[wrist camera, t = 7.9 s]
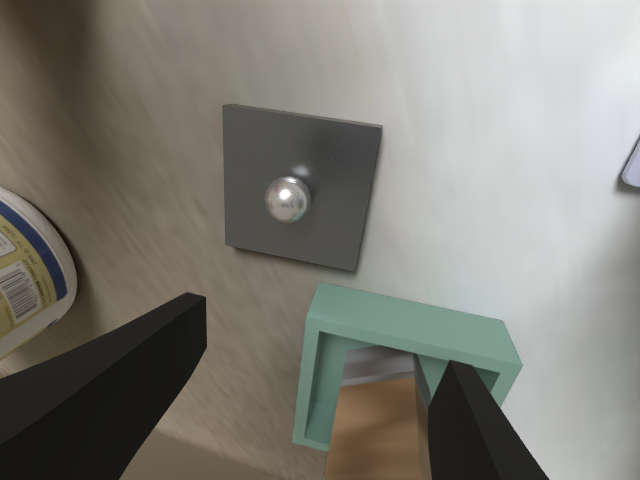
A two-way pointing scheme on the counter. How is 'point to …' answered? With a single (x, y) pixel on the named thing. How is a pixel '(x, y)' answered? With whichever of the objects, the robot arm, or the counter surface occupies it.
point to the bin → (396, 332)
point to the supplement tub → (30, 273)
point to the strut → (380, 418)
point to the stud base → (308, 161)
